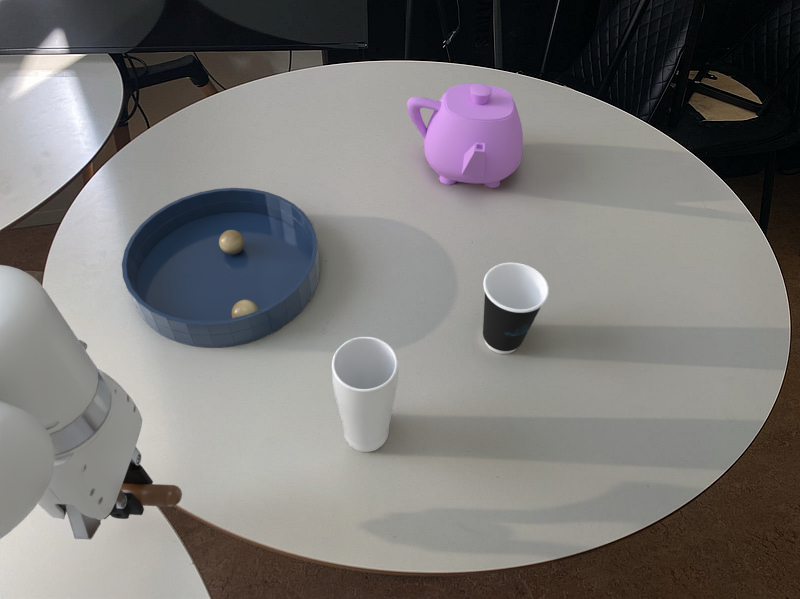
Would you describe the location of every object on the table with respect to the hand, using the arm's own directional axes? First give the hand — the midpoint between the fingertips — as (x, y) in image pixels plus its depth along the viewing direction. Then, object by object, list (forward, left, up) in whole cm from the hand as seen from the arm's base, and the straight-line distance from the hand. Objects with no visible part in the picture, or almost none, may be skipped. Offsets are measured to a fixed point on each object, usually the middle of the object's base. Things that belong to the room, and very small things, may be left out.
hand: (132, 497), depth 59 cm
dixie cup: (+27, -39, -7) cm, 48 cm away
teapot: (+62, -34, -7) cm, 71 cm away
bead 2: (+27, -5, -4) cm, 28 cm away
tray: (+36, 0, -7) cm, 36 cm away
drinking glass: (+12, -22, -7) cm, 26 cm away
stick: (0, -1, 0) cm, 1 cm away
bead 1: (+40, 0, -4) cm, 40 cm away
